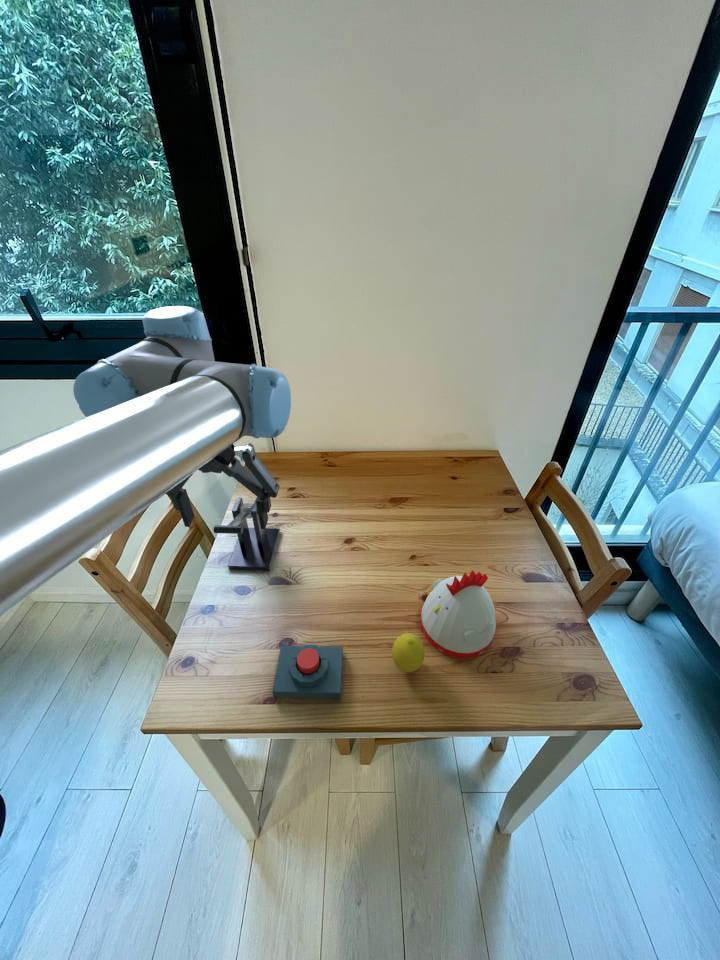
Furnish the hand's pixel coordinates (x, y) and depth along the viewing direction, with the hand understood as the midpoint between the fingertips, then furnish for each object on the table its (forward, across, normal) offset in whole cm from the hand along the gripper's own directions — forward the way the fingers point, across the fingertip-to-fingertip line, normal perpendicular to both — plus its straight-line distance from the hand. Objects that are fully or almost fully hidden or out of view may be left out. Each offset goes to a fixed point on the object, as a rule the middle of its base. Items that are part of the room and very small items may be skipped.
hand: (227, 522), depth 74 cm
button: (+15, -16, +18) cm, 28 cm away
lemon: (+19, -33, +15) cm, 41 cm away
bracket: (+19, 0, -11) cm, 21 cm away
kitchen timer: (+19, -43, +7) cm, 48 cm away
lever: (+5, 0, -5) cm, 7 cm away
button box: (+18, -16, +18) cm, 30 cm away
